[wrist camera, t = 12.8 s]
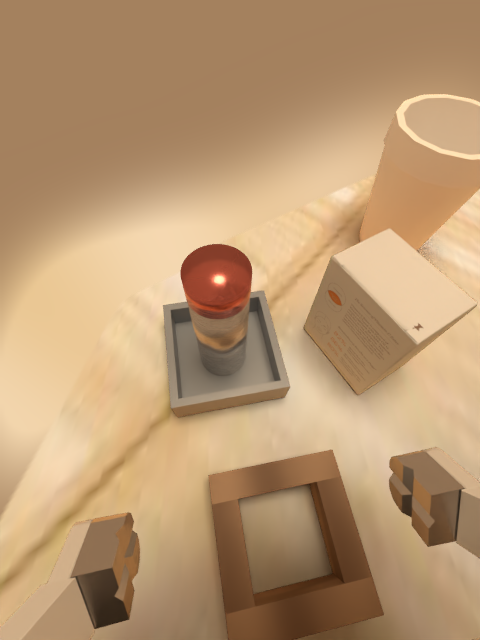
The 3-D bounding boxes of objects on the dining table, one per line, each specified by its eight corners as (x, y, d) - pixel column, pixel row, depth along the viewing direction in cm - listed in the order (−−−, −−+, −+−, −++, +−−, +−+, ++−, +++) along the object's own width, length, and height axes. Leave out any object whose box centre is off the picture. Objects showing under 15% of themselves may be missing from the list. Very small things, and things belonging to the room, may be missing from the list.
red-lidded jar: (241, 332, 29) (244, 240, 18) (249, 371, 27) (258, 294, 16) (198, 338, 28) (177, 248, 18) (204, 379, 26) (184, 305, 16)
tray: (261, 308, 31) (263, 290, 28) (284, 397, 26) (290, 386, 24) (169, 322, 30) (163, 305, 27) (177, 417, 25) (170, 408, 23)
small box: (402, 366, 28) (484, 305, 19) (356, 397, 26) (420, 347, 17) (345, 302, 31) (390, 224, 22) (301, 327, 30) (330, 253, 21)
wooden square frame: (323, 453, 24) (332, 449, 22) (367, 601, 20) (384, 614, 18) (211, 476, 23) (208, 475, 21) (230, 637, 19) (230, 656, 17)
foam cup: (364, 203, 39) (418, 83, 27) (437, 233, 36) (529, 115, 25) (332, 249, 35) (379, 132, 23) (412, 286, 32) (507, 176, 21)
